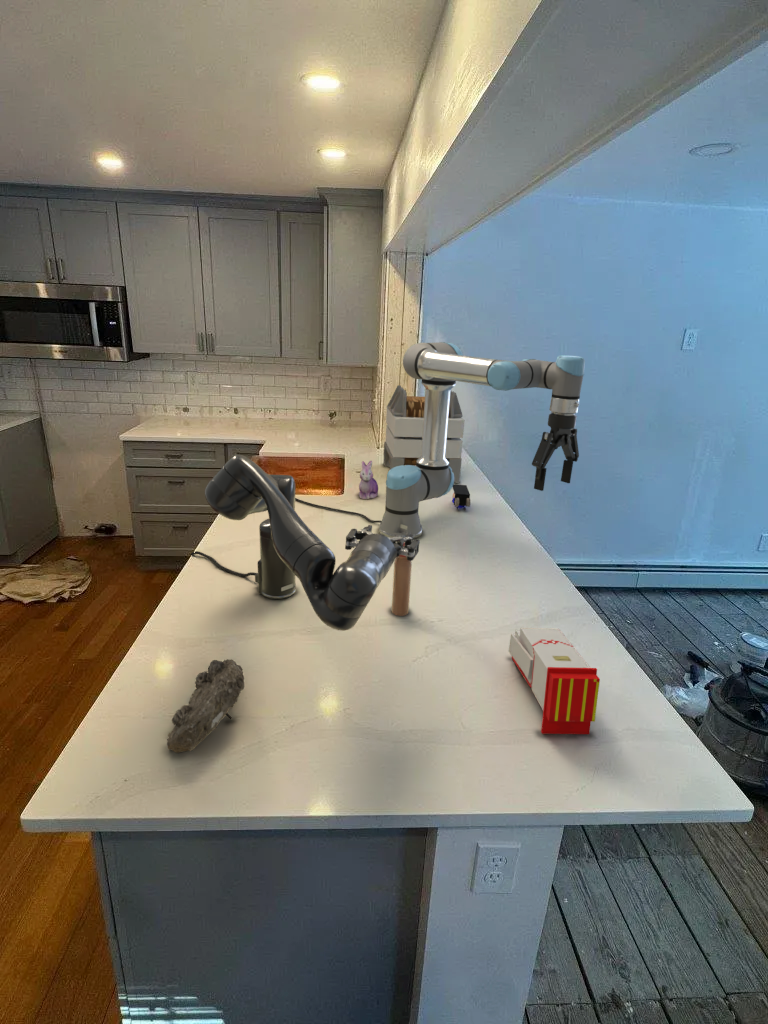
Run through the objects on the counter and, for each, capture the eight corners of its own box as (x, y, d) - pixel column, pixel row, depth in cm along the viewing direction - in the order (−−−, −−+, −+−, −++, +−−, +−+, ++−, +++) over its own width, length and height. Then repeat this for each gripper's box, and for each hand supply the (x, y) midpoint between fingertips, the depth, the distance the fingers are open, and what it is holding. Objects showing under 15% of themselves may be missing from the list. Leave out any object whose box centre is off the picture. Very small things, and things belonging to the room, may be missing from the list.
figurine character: (470, 515, 225) (465, 499, 238) (472, 498, 221) (467, 483, 235) (453, 515, 224) (449, 499, 238) (455, 497, 221) (451, 482, 234)
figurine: (363, 500, 232) (364, 465, 227) (352, 493, 240) (353, 459, 235) (383, 498, 236) (385, 463, 231) (372, 491, 244) (373, 457, 239)
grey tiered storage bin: (382, 463, 289) (386, 382, 275) (445, 464, 293) (451, 384, 279) (390, 482, 257) (394, 392, 243) (460, 483, 261) (468, 394, 247)
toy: (555, 612, 132) (609, 675, 103) (550, 665, 135) (600, 741, 106) (504, 611, 132) (543, 673, 102) (499, 664, 134) (536, 740, 105)
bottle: (409, 608, 151) (413, 545, 144) (407, 616, 146) (411, 552, 140) (392, 606, 151) (396, 543, 145) (390, 614, 147) (393, 550, 141)
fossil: (192, 660, 117) (244, 628, 112) (224, 691, 120) (276, 661, 115) (142, 746, 98) (202, 712, 93) (182, 779, 101) (242, 748, 96)
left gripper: (333, 571, 107) (356, 543, 122) (406, 585, 104) (420, 554, 120) (335, 534, 105) (359, 510, 120) (411, 547, 102) (425, 521, 117)
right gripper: (548, 419, 148) (537, 496, 155) (598, 411, 163) (586, 482, 171) (525, 414, 153) (515, 489, 160) (575, 407, 169) (564, 476, 176)
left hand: (389, 532), depth 120 cm, fingers open, 8 cm apart
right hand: (552, 485), depth 166 cm, fingers open, 13 cm apart
